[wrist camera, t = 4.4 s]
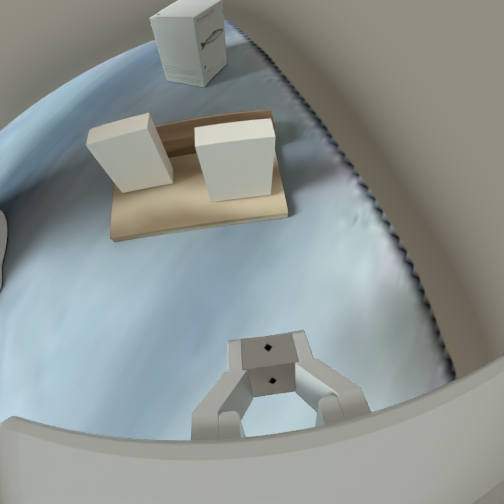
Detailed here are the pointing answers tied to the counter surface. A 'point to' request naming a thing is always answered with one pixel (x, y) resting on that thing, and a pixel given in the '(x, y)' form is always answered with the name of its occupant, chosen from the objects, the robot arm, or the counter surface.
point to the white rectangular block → (236, 158)
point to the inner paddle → (131, 153)
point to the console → (191, 190)
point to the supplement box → (191, 40)
